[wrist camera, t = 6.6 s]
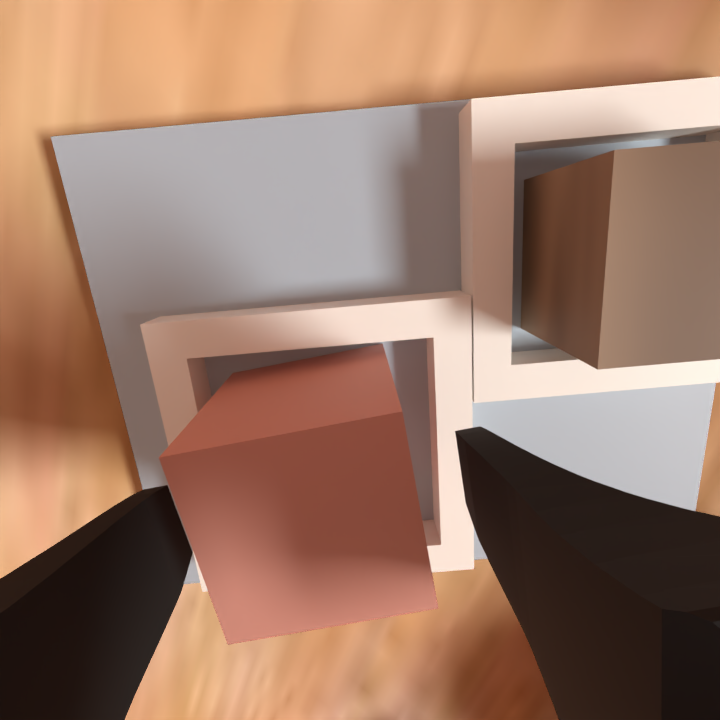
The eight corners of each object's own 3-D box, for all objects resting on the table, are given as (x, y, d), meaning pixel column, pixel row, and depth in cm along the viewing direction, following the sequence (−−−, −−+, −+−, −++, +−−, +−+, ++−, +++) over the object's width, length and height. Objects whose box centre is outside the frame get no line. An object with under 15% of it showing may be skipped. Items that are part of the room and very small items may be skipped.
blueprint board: (730, 86, 12) (816, 52, 9) (669, 522, 15) (719, 567, 13) (75, 144, 12) (14, 124, 10) (179, 564, 16) (151, 615, 13)
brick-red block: (382, 343, 12) (402, 411, 8) (407, 477, 14) (438, 608, 9) (232, 372, 12) (158, 457, 8) (271, 502, 14) (228, 644, 9)
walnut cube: (675, 166, 11) (845, 129, 7) (658, 316, 12) (798, 352, 8) (524, 179, 11) (614, 149, 7) (520, 328, 12) (597, 369, 8)
